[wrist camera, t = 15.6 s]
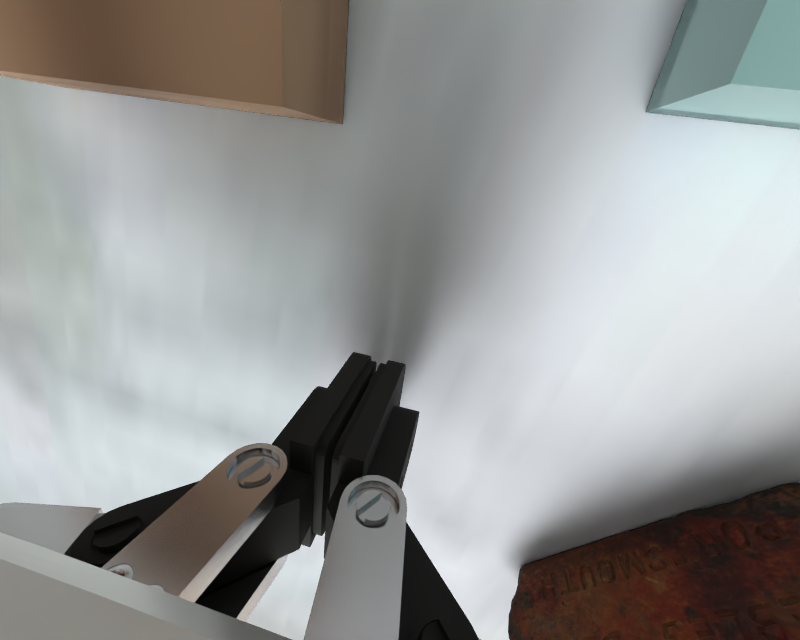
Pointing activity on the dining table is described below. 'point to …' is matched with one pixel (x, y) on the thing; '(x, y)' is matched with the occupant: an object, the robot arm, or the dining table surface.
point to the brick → (674, 579)
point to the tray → (734, 63)
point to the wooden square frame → (186, 51)
